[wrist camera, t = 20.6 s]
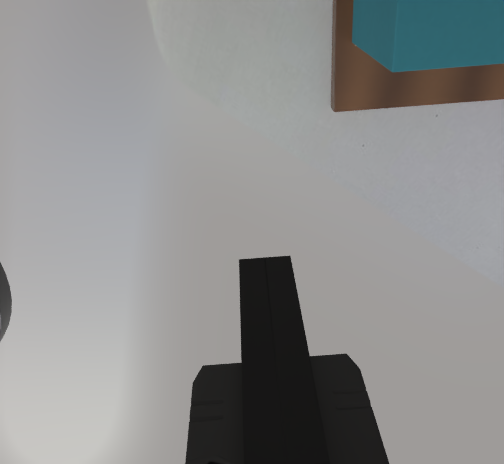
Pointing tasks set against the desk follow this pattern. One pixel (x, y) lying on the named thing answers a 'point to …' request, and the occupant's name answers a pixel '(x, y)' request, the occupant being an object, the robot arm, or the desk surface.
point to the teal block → (430, 32)
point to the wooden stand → (399, 76)
